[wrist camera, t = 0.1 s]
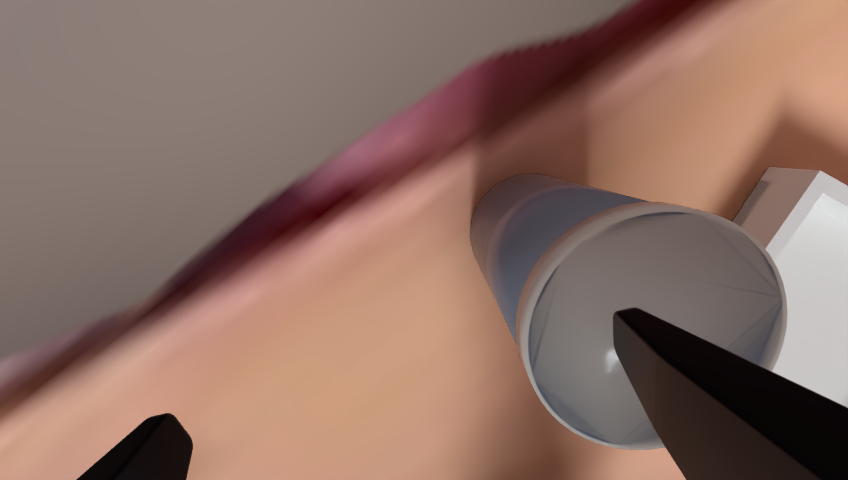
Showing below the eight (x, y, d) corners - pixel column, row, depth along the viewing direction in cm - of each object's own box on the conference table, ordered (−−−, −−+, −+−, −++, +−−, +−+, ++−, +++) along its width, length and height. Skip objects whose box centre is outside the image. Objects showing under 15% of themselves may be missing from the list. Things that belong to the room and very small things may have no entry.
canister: (550, 308, 24) (688, 484, 12) (447, 259, 24) (477, 391, 11) (611, 205, 23) (842, 280, 10) (504, 150, 22) (613, 158, 10)
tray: (792, 482, 27) (837, 523, 24) (612, 400, 26) (637, 433, 23) (962, 274, 24) (1037, 292, 21) (768, 166, 23) (820, 170, 20)
